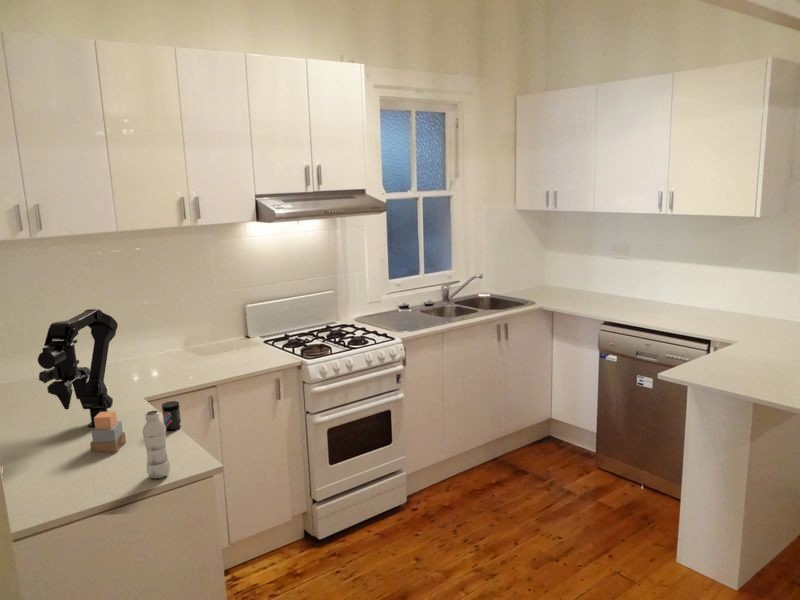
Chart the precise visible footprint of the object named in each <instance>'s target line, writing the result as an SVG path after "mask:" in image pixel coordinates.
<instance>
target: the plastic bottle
mask: <svg viewBox="0 0 800 600" xmlns="http://www.w3.org/2000/svg"><path fill="white" fill-rule="evenodd" d="M160 418H161V417H160V411H159V410H149V411H147V412H146V413H145V421H146V422H145V424H144V426H143V428H142V436H143V441H144V443H145V448H146V461H147V463H146V473H147V476H148V477H149V478H150V479H152V478H153V480H157V478H159V479H162V478H164V476H165V477H166V476H168V475H169V473H170V471H171V465H170V461H169V457H168V453H167V447H166V446H167V445H166V444H167V441H166V435H167V431H166V427H165V425H164V422H163V421H161V420H160ZM167 474H168V475H167ZM154 478H155V479H154Z"/></svg>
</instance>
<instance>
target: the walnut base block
mask: <svg viewBox="0 0 800 600" xmlns="http://www.w3.org/2000/svg"><path fill="white" fill-rule="evenodd" d="M126 443H127V439H126V432H125V431H123V433H122V434H121V435H120V437H119V438H118V439H117V440H116V441H114V442H98V443H93V440H91V442H90V451H91V454H92V455H94V454H93V453H105V454H115V453H114V452H117V453H119V451H120V450H121V449H122V448H123V447H124V446H125V444H126ZM122 446H123V447H122ZM121 447H122V448H121ZM120 448H121V449H120ZM119 449H120V450H119Z"/></svg>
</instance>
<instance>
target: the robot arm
mask: <svg viewBox="0 0 800 600" xmlns="http://www.w3.org/2000/svg"><path fill="white" fill-rule="evenodd" d="M118 325H119V324H118V322H117V321H116V320H115V318H114V317H112V316H111V315H109V314H108V313H104V312H103V311H102V310H101V309H98V308H91V309H90V308H89V309H85V310H84V311H83V312H82V313H79V314H77V315H75V316H73V317H72V318H70V319H68V320H61V321H60V320H58V321H55V322H52V323H51V324H50V325H49V327H48V330H47V333H46V337H45V341H44V344H43V346H44V347H43V348H42V352H40V353H39V355H38V357H37V363H38V365H39V366H40V367H41V368H43V369H45V370H43V371H40V372H39V373H38V380H39V382H42V383H43V384H47V383H48V382H51V381H52V380H54V381H53V382H51V383H50V384H49V385H48V386H47V387H46V388H47V394H50V395H54V396H55V397H57V399H58V400H59V402H60V403H61V405H62V407H63V409H64V410H69V409H70V405H71V402H72V401H71V400H72V394H73V390H74V395H75V397H76V399H77V400H79V402H80V404H81V407H82V409H83V410H89V415H90V421H91V422H90V423H89V424H88V425H87V427H88V428H92V427H94V428H95V422H94V417H95V416H96V415H97V414H99V413H100V412H109V411H108V409H110V408H112V406H113V403H114V402H113V401H114V399H113V397H111V396H110V395H109V394H108V388H107V386H106V384H105V376H106V375H105V374H106V369H107V361H108V353H109V347H110V342H111V341H112V340H113V339H114V338H115V337H116V333H117V329H118ZM86 327H88V328H89V329H90V334H91V337H92V339H93V341H94V343H93V349H92V354H91V356H92V357H91V361H90V368H88V367H87V366H81V367H80V366H78V364H80V360H79V359H77V354H76V348H75V347H76V345H75V344H77V343H78V339H75V338H76V337H77V336H78V335H79V331H81V330H83V329H84V328H86Z"/></svg>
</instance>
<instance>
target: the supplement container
mask: <svg viewBox="0 0 800 600" xmlns="http://www.w3.org/2000/svg"><path fill="white" fill-rule="evenodd" d="M161 410H162V411H161V412H162V420H163V421H162V422H163V423H164V425H165V427H166V430H167V431H166V432H175V431H177V430H176V429H178V430H180V429H181V428H182V419H181V418H182V417H181V409H180V402H179V401H178V400H177V401H176V400H174V401H173V400H172V401H166V402H163V403H162V404H161ZM174 430H175V431H174Z"/></svg>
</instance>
